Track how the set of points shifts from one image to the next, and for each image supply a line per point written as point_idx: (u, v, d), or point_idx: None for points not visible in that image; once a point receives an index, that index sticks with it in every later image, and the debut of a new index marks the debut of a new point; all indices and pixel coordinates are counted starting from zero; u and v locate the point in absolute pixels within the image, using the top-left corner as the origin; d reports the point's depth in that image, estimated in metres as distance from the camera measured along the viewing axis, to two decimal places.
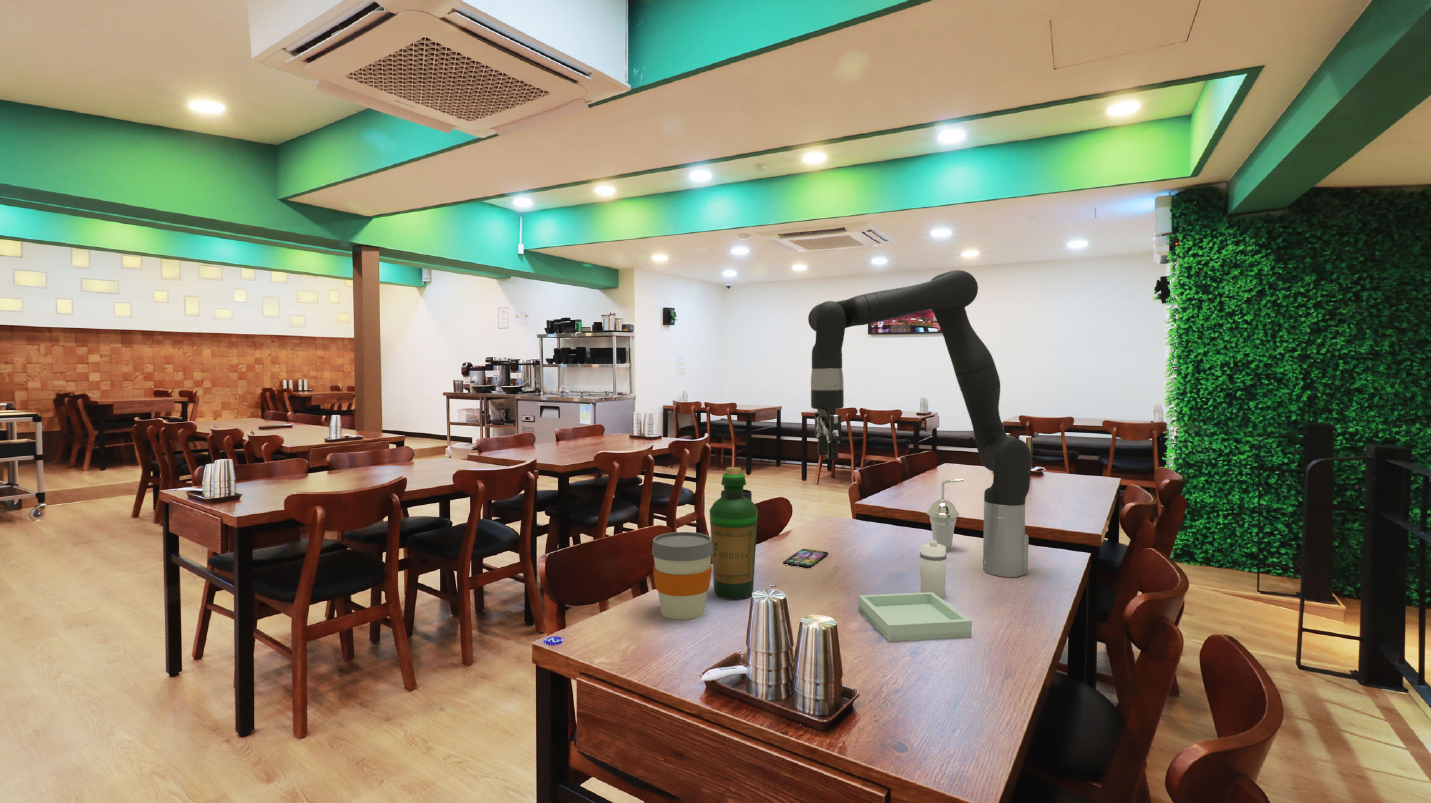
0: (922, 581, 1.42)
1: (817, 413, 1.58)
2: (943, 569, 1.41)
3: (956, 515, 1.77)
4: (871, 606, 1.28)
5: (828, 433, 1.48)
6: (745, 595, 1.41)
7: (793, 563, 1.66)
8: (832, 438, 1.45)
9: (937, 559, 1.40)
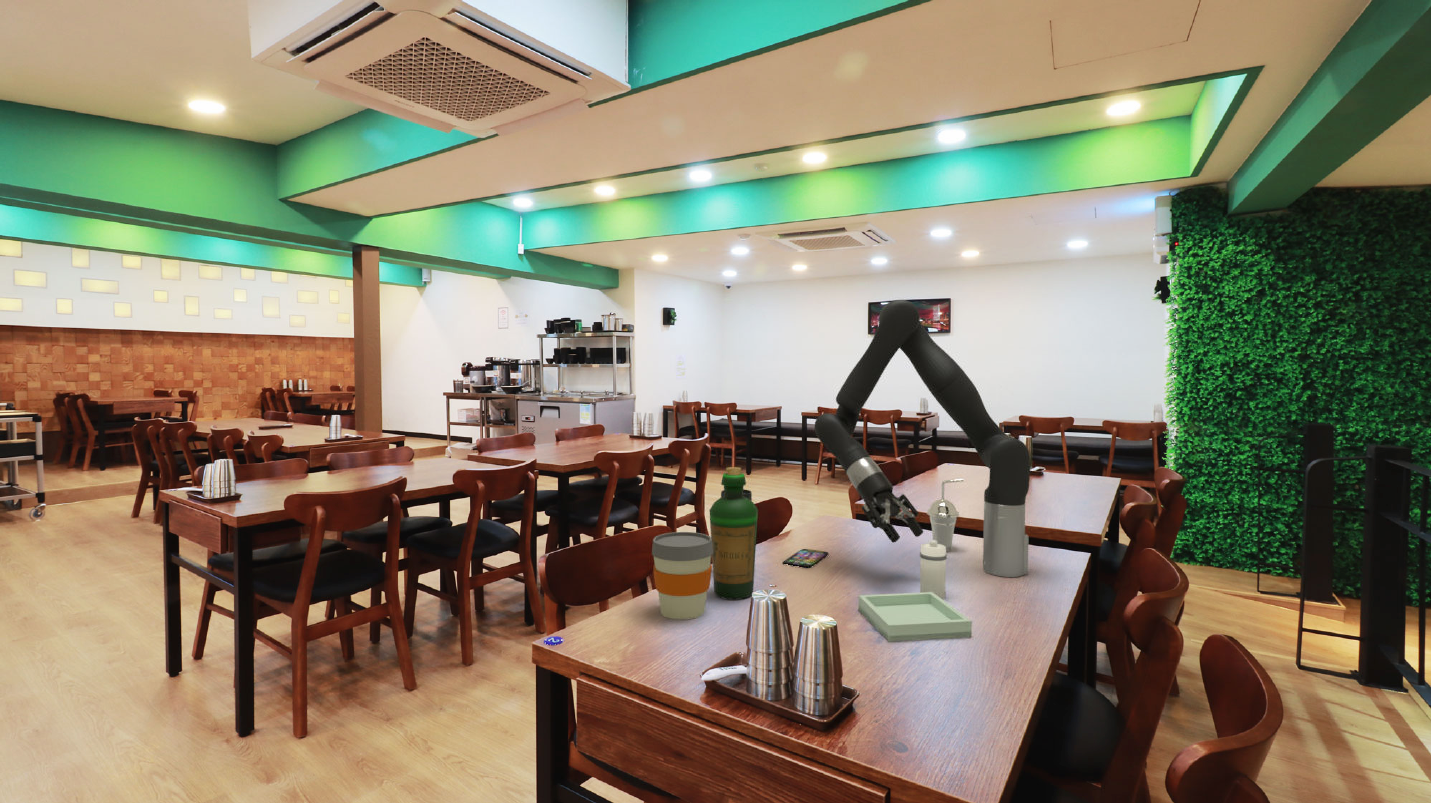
0: (922, 581, 1.42)
1: None
2: (943, 569, 1.41)
3: (956, 515, 1.77)
4: (871, 606, 1.28)
5: None
6: (745, 595, 1.41)
7: (793, 563, 1.66)
8: (873, 525, 1.46)
9: (937, 559, 1.40)
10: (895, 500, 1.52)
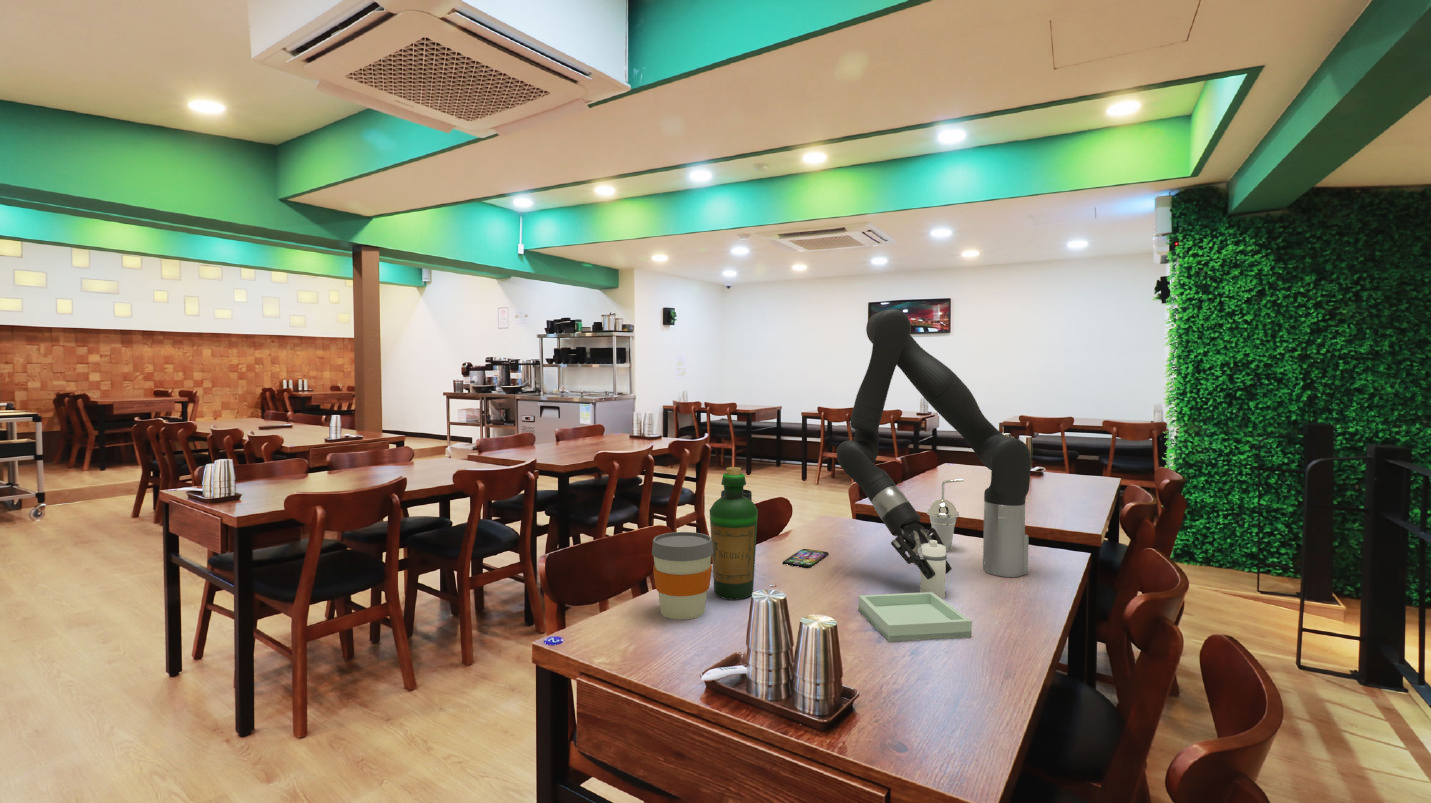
0: (922, 581, 1.42)
1: None
2: (943, 569, 1.40)
3: (956, 515, 1.77)
4: (871, 606, 1.28)
5: None
6: (745, 595, 1.41)
7: (793, 563, 1.66)
8: (907, 561, 1.41)
9: (937, 559, 1.40)
10: (923, 532, 1.46)
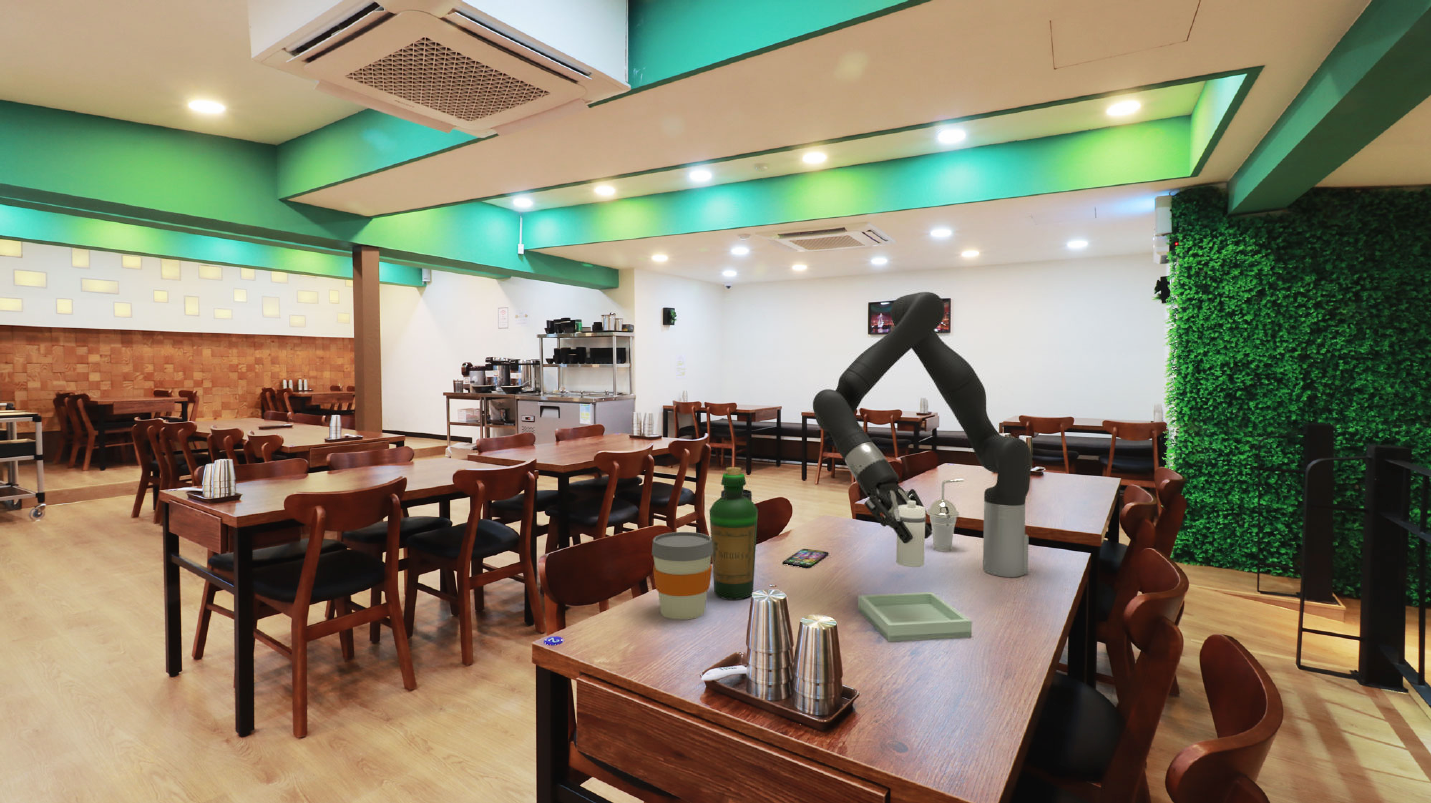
0: (898, 546, 1.27)
1: None
2: (922, 533, 1.25)
3: (956, 515, 1.77)
4: (871, 606, 1.28)
5: None
6: (745, 595, 1.41)
7: (793, 563, 1.66)
8: (881, 523, 1.26)
9: (915, 521, 1.24)
10: (901, 492, 1.30)
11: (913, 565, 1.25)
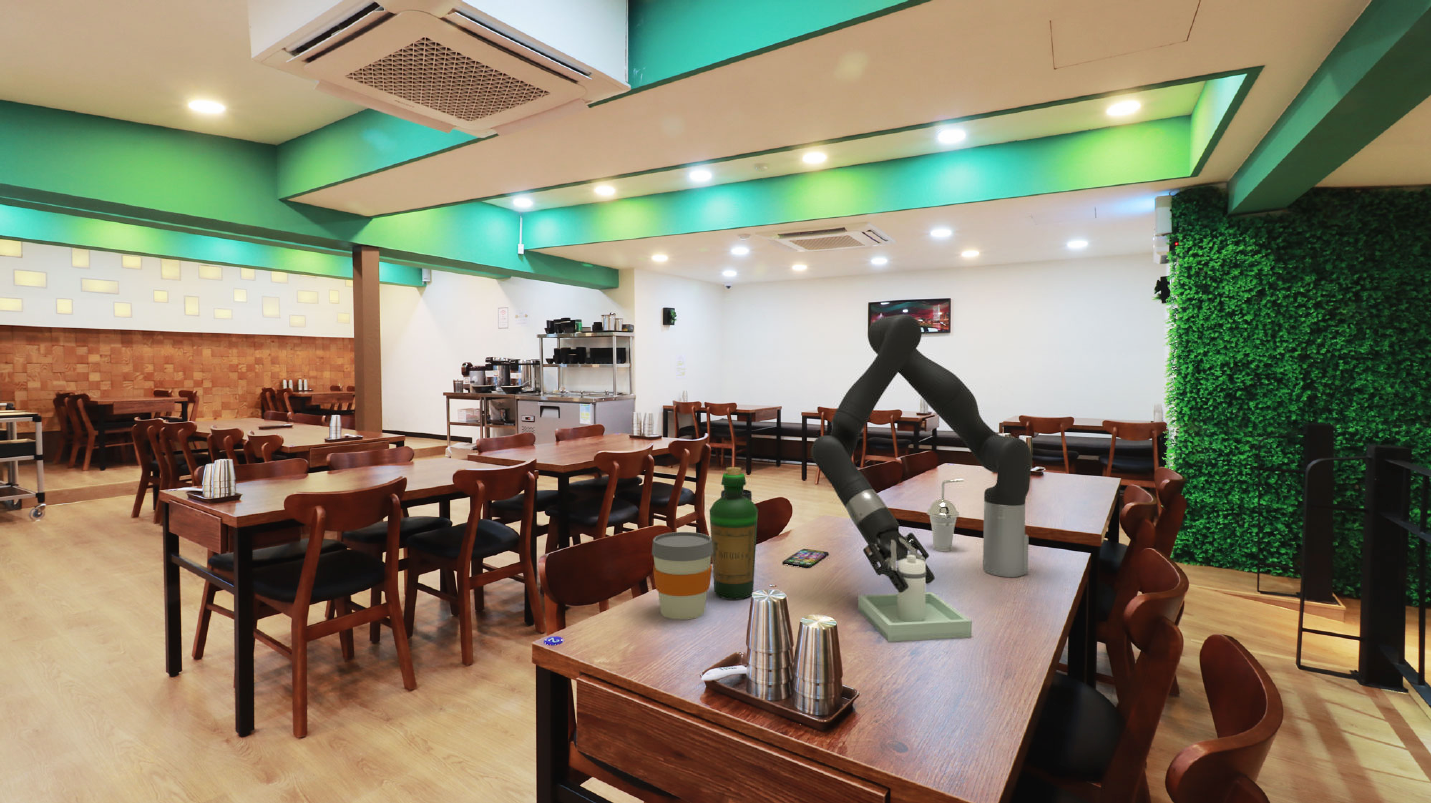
0: (899, 601, 1.27)
1: None
2: (922, 588, 1.25)
3: (956, 515, 1.77)
4: (871, 606, 1.28)
5: None
6: (745, 595, 1.41)
7: (792, 563, 1.66)
8: (877, 572, 1.25)
9: (915, 577, 1.24)
10: (902, 541, 1.30)
11: (914, 620, 1.25)
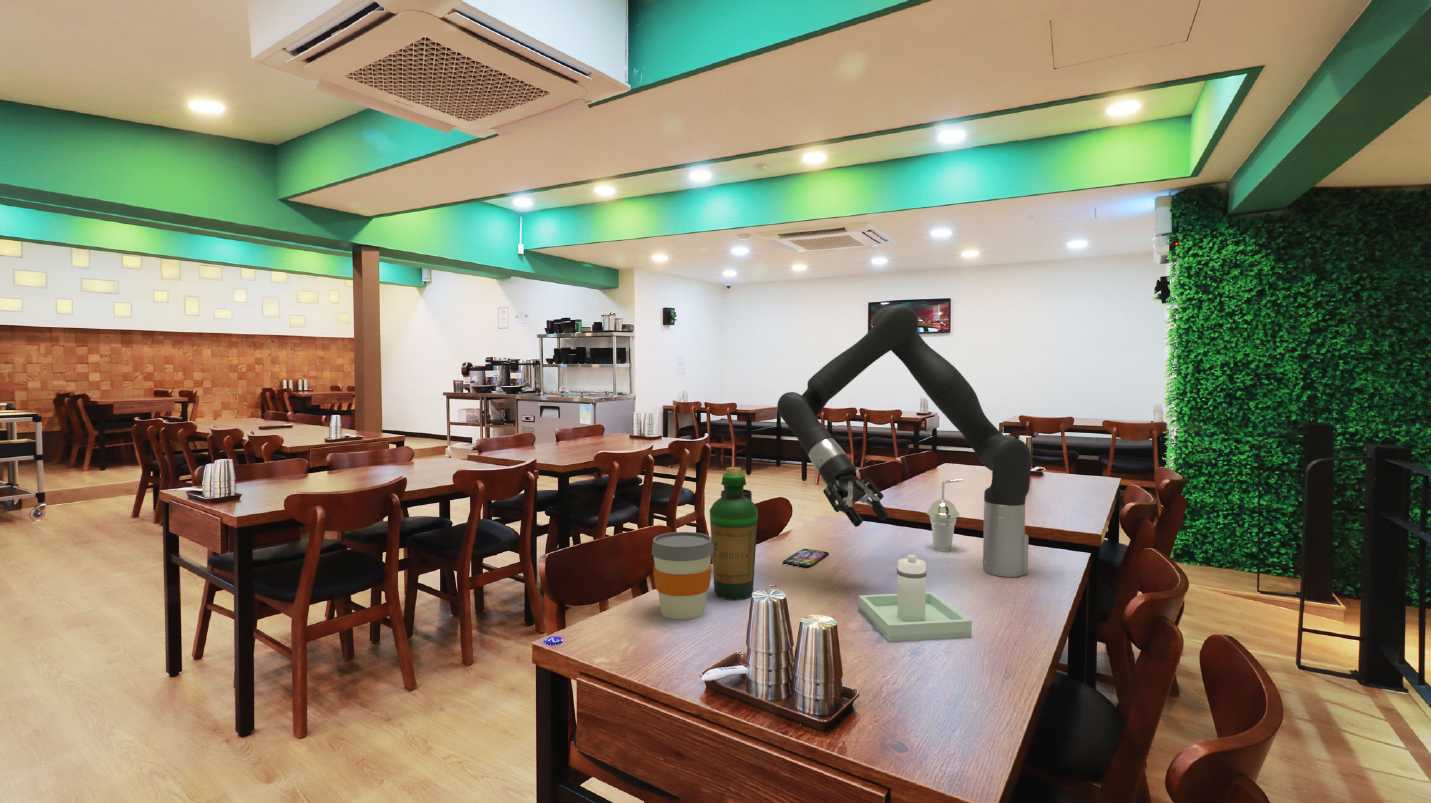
0: (899, 601, 1.27)
1: None
2: (922, 588, 1.25)
3: (956, 515, 1.77)
4: (871, 606, 1.28)
5: None
6: (745, 595, 1.41)
7: (792, 563, 1.66)
8: (835, 509, 1.39)
9: (916, 577, 1.25)
10: (859, 483, 1.45)
11: (914, 620, 1.25)
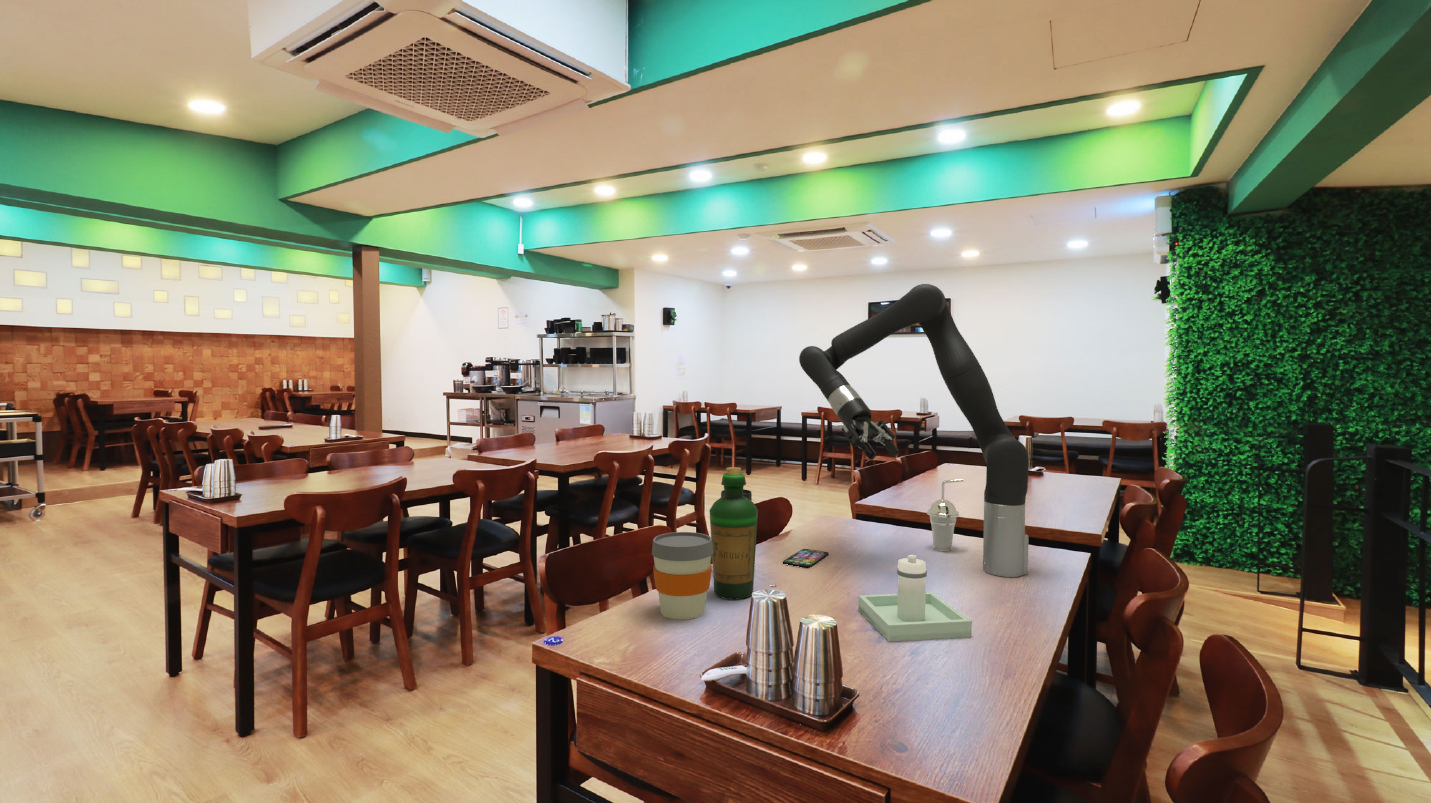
0: (899, 601, 1.27)
1: None
2: (923, 588, 1.25)
3: (956, 515, 1.77)
4: (871, 606, 1.28)
5: None
6: (745, 595, 1.41)
7: (792, 563, 1.66)
8: (852, 444, 1.57)
9: (916, 576, 1.25)
10: (873, 423, 1.62)
11: (914, 620, 1.25)
